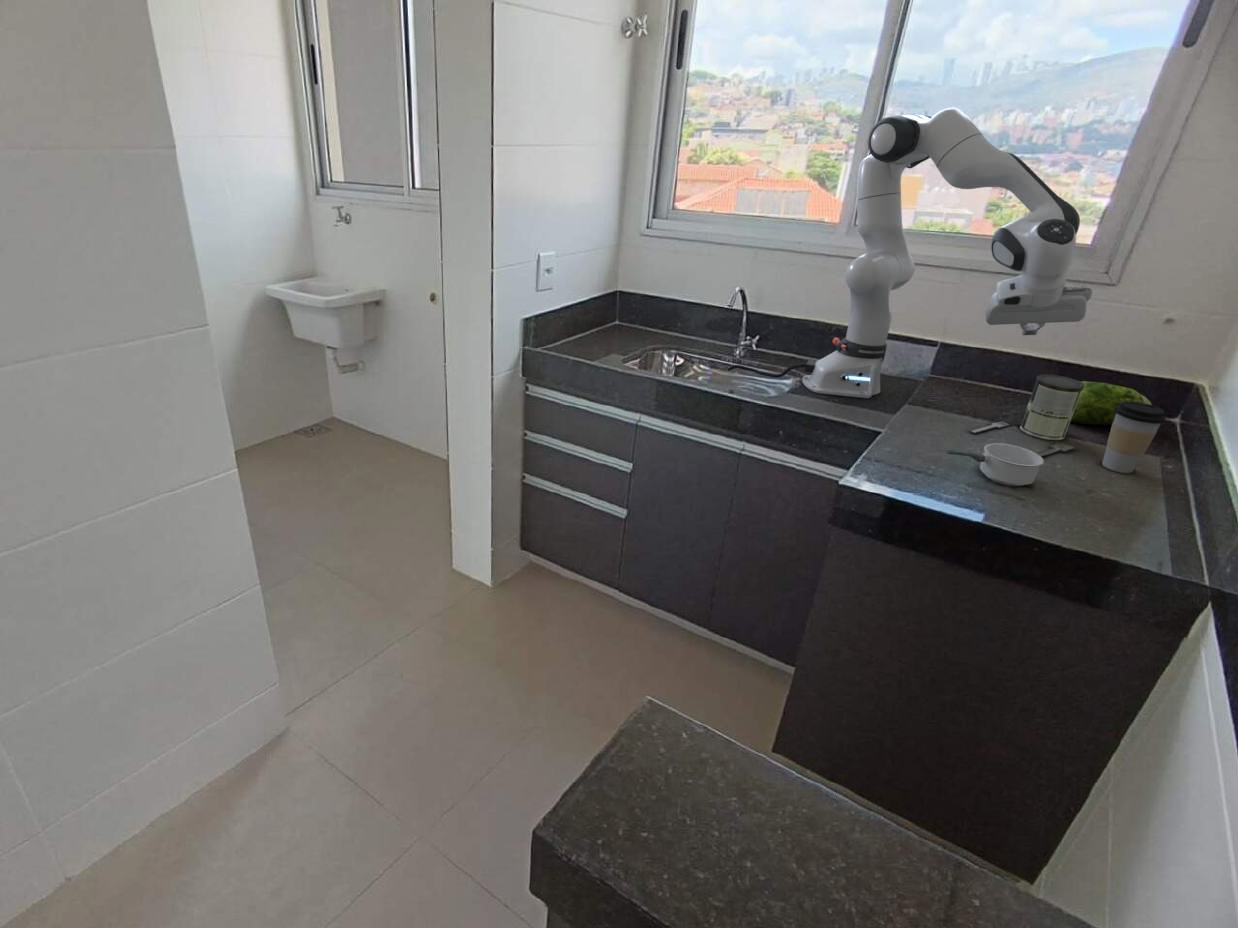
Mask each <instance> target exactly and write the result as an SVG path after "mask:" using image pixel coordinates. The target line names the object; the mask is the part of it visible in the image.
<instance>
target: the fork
mask: <svg viewBox="0 0 1238 928" xmlns="http://www.w3.org/2000/svg"><path fill="white" fill-rule="evenodd" d="M1009 426H1010V423H1007V422H1004V421H999V422H993V423H990V425H987V426H982V427H979V428H976V429H972V430H970V431H969V433H971V434H972V435H977V434H980V433H984V432H987V431H990V430H991V431H992V430H994V429H1003V428H1005V427H1009Z"/></svg>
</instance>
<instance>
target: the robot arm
mask: <svg viewBox="0 0 1238 928" xmlns="http://www.w3.org/2000/svg"><path fill="white" fill-rule="evenodd" d="M867 146H868V147H867V148H868V151H869V153H870V154H869V155H867V156H866V157H864V158H863V159H862V161H861V162H860V164H859V168H858V172H857V181H856V182H857V183H856V213H857V214H856V216H857V232H858V234H859V235H860V237H861V238H862V240H863V243H864V246H865V249H866V253H863V254H862V255H859V256H857V257H856V258H855V259H853V260H852V261H851V262H850V263H849V264H848V266H847V268H846V271H845V283H846V285H847V287H848V288H849V293H850V313H849V314H850V315H849V320H848V325H847V330H846V334H845V337H844V338H842V339H841V338H839V337H834V338H833V339H832V344H833V345H835V346H837V347H836V350H835V351H833V352H832V353H829V354H828V355H826V356H824V357H823V358H820V359H818V360H813V359H808V360H807V361H806V363H800V364H799V363H798V364H793V365H790V366H789V367H787V368H786V369H785V370H784V371H783V372H781V373H776V374H775V373H774V374H773V373H771V372H770V373H769V372H765V371H761V370H758V369H756V368H752V367H748V366H744V365H739V364H734V365H732V366H729V367H728V368H727V369H726V371H729V372H730V371H732V370H734V369H741V370H744V371H750V372H752V373H755V374H757V375H761V376H764V377H769V378H782V377H784V376H786V375H787V374H788V373H789V372H790V371H791V370H794V369H798V368H804V372H805V373H810V374H806V375H803V377H802V379H801V382H802V384H803V386H805V387H806V389H808V390H810V391H811V392H813V393H816V394H821V395H822V394H823V395H831V396H832V395H833V396H841V397H852V398H861V399H871V398H872V396H876V395H878V394H880V393H881V374H882V373H881V372H882V364H883V362H884V360H885V357H886V353H887V347H888V344H887V340H888V336H889V331H890V327H891V323H892V319H893V315H892V313H891V311H890V294H891V291H896V290H897V289H900V288H901V287H903V286H904V285H906V284H907V283H908V282H909V281H910V280H911V279H912V278H913V276H914V273H915V270H916V269H915V268H916V266H915V265H916V264H915V261H914V259H913V257H912V256H911V255H910V252H909V249H908V246H907V240H906V236H905V232H904V225H903V215H902V214H903V213H902V176H903V172H904V171H905V170H906V169H913V168H914V167H916V166H918V165H920V164H922V163H923V162H925V161H927V160H929V159H931V161H932V162H933V164H934V166H935V167H936V169H937V170H938V172H939V173H940V175H941V176H942V178H943V179H944V180H945V181H946V182H947V183H948V184H949V185H950V186H952V187H953V188H955V189H961V190H974V189H981V188H1001V189H1005V190H1007V191H1009V192H1010V193H1012V194H1013V195H1014V196H1015V197H1016V198H1017V199H1018V200H1019V201H1020V202H1021V203H1022V204H1023V206H1025V207H1026V209H1028V210H1029V212H1030V213H1028V214H1026V215H1024V216H1022V217H1020V218H1016V219H1014V220H1013V221H1011V222H1009V223H1006V224H1004V225H1002V226H1001V227H999V228H997V229H996V230H995V232H994V234H993V236H992V238H991V244H990V245H991V246H990V247H991V254H992V258H993V259H994V260H995V261H996V262H997V263H998V264H1000V265H1001V266H1003V267H1005V268H1007V269H1010V270H1012V271H1015V272H1021V274H1019V275H1017V276H1014V277H1010V278H1007V279H1004V280H1003V279H1002V280H1000V281H998V282H997V284H996V290H995V292H994V293H993V294H992V295H991V296H990V299H989V301H988V304H987V307H986V311H985V321H986V323H987V324H988V325H989V326H996V325H997V326H998V325H999V326H1000V325H1019V327H1020V328H1021V335H1022V336H1037V334H1038V331H1040V329H1042V328H1043V327H1044V326H1045V325H1046V324H1050V323H1051V324H1052V323H1078V322H1081V321H1082V320H1084V319H1085V317H1086V314H1087V307H1088V305H1087V304H1088V303H1087V302H1089V301H1090V300H1091V298H1092V295H1093V289H1091V287H1087V285H1078V286H1066V282H1067V279H1068V278H1067V277H1068V274H1067V271H1068V270H1069V269H1070V267H1071V265H1072V262H1073V260H1074V259H1073V258H1074V255H1075V251H1076V245H1077V234H1078V233H1079V229H1080V224H1081V219H1080V218H1081V217H1080V215H1079V214H1080V213H1079V212H1078V211H1077V209H1076V208H1075V207H1074V206H1073V205H1072V204H1070V203H1069V202H1067V201H1066V200H1065V199H1063V198H1061V197H1060V196H1059V195H1058V194H1056V193H1055V191H1053V190H1052V189H1051V188H1050V187H1049V186H1048V185H1047V184H1046V183H1045V182H1044V181H1043V180H1042V179H1041V178H1040V177H1039V175H1037V174H1036V173H1035V171H1033V169H1031V168H1030V167H1029V166H1028V164H1027V163H1025V162H1024V161H1023V160H1022V159H1021V158H1020V157H1018V156H1017V155H1016V154H1013V153H1012V152H1006V151H1004V150H1001V149H999V148H998V147H996V146H994V145H993V144H992V143H991V142H989V140H988V139H986V137H985V136H984V134H983V133H982V132H981V131H980V129H979V128H978V127H977V125H976V124H975V123H974V122H973V121H972V120H971V119H970V117H968V116H967V114H965V113H964V112H962V110H960V109H958V108H957V107H948V108H945V109H942V110H940V111H938V112H937V113H935V114H933V116H930V115H921V114H915V113H910V114H902V115H900V114H892V115H889V116H886V117H883V118H882V119H880V120H878V122H876V123H875V124H874V125H873V127H872V128H871V130H870V132H869V135H868V140H867ZM1028 324H1032V325H1028Z"/></svg>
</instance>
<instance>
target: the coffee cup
mask: <svg viewBox="0 0 1238 928" xmlns="http://www.w3.org/2000/svg"><path fill="white" fill-rule="evenodd" d="M1114 412H1115V413H1116V416H1115V419H1114V422H1113V423H1112V425H1111V428H1110V432H1109V435H1108V438H1107V442H1106V448H1105V452H1104V456H1103V459H1102V466H1103V467H1104V468H1106V469H1108V470H1111V471H1113V472H1115V473H1116V472H1117V473H1121V474H1130V473H1131V474H1132V473H1133V472H1134V470H1135V468H1136V467H1137V465H1138V464H1139V461H1140V460H1141V458H1142V457H1143V455H1144V454H1145V453H1146V452H1147V450H1148V448H1149V447H1150V445H1151V443H1152V441H1153V439H1154V438H1155V436H1156V434H1157V433H1158V429H1159V428H1160V426H1161V424H1164V423H1165V422H1166V420H1167V416H1166V415H1165V410H1164V409H1162V408H1160V407H1158V406H1156V405H1153V404H1151V405H1150V404H1146V403H1141V402H1135V401H1124V402H1122V403H1121V404H1120V405H1118V406H1116V408H1115V409H1114Z"/></svg>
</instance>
